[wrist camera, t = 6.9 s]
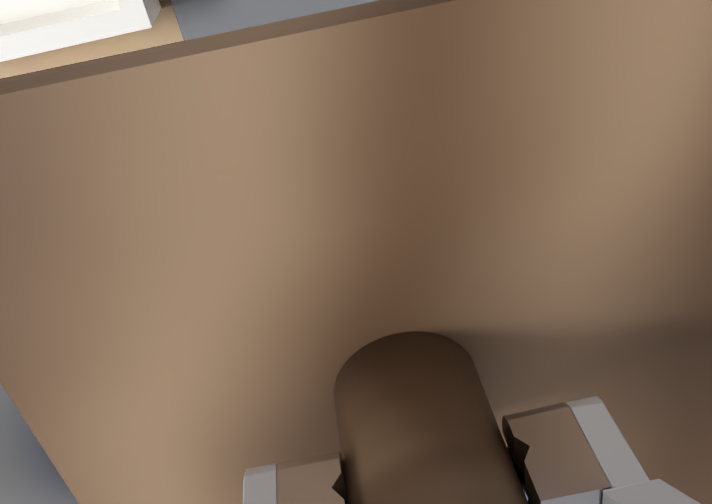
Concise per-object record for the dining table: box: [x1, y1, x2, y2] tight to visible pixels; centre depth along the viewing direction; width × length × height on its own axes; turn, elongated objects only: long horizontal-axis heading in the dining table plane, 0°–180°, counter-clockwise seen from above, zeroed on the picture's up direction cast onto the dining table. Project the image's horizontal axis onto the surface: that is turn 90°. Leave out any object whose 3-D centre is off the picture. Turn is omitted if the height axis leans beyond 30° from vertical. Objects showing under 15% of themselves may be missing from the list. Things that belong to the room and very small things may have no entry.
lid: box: [0, 0, 712, 504], centre depth 10 cm, size 13×13×6 cm
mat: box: [171, 0, 379, 41], centre depth 29 cm, size 13×13×1 cm
